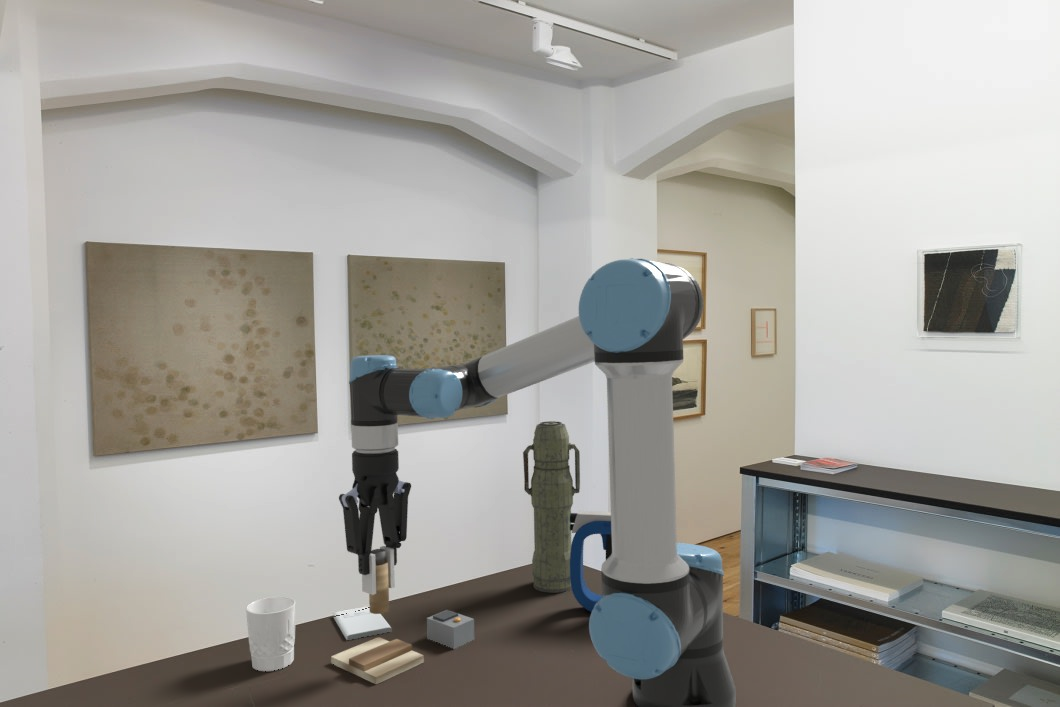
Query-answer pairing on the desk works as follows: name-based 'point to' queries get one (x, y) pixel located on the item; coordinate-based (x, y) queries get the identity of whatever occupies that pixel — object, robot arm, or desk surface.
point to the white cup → (271, 632)
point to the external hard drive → (360, 623)
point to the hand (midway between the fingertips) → (378, 588)
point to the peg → (380, 584)
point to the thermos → (551, 505)
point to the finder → (450, 629)
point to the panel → (378, 659)
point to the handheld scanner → (582, 527)
